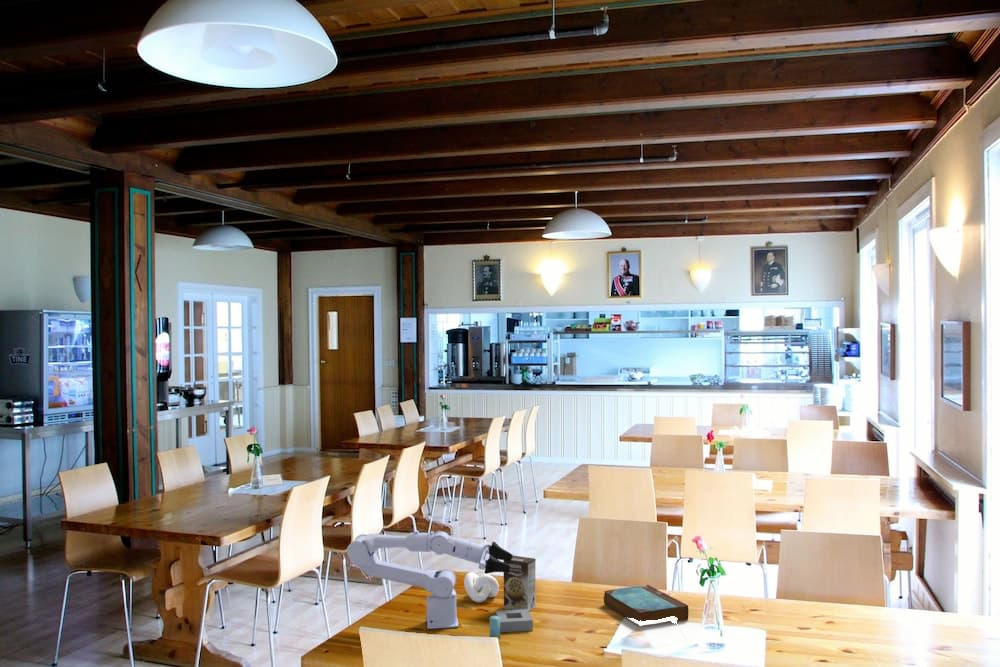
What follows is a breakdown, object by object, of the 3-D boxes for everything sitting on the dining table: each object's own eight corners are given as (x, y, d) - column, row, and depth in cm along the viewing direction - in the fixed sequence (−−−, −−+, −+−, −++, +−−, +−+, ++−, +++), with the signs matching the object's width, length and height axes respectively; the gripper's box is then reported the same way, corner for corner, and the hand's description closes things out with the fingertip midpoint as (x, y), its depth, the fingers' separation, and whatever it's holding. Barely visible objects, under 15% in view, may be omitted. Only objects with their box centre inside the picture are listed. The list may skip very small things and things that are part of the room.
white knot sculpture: (458, 595, 270) (458, 568, 270) (492, 591, 273) (491, 565, 274) (467, 605, 259) (466, 578, 259) (501, 601, 263) (501, 574, 263)
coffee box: (502, 608, 255) (502, 559, 255) (511, 602, 261) (511, 554, 261) (528, 613, 251) (527, 562, 251) (536, 606, 256) (535, 557, 257)
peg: (490, 640, 228) (490, 619, 228) (489, 636, 231) (489, 616, 231) (500, 639, 228) (500, 619, 228) (499, 636, 231) (499, 615, 231)
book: (688, 620, 243) (688, 604, 243) (639, 629, 237) (639, 612, 237) (648, 599, 264) (648, 584, 264) (602, 606, 258) (602, 590, 258)
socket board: (499, 632, 234) (499, 622, 234) (496, 620, 244) (496, 610, 244) (532, 630, 236) (532, 620, 236) (527, 618, 245) (527, 609, 245)
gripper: (468, 549, 234) (511, 562, 233) (474, 529, 248) (515, 541, 247) (462, 570, 235) (505, 583, 234) (469, 549, 249) (510, 561, 249)
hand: (510, 563), depth 241 cm, fingers open, 7 cm apart
